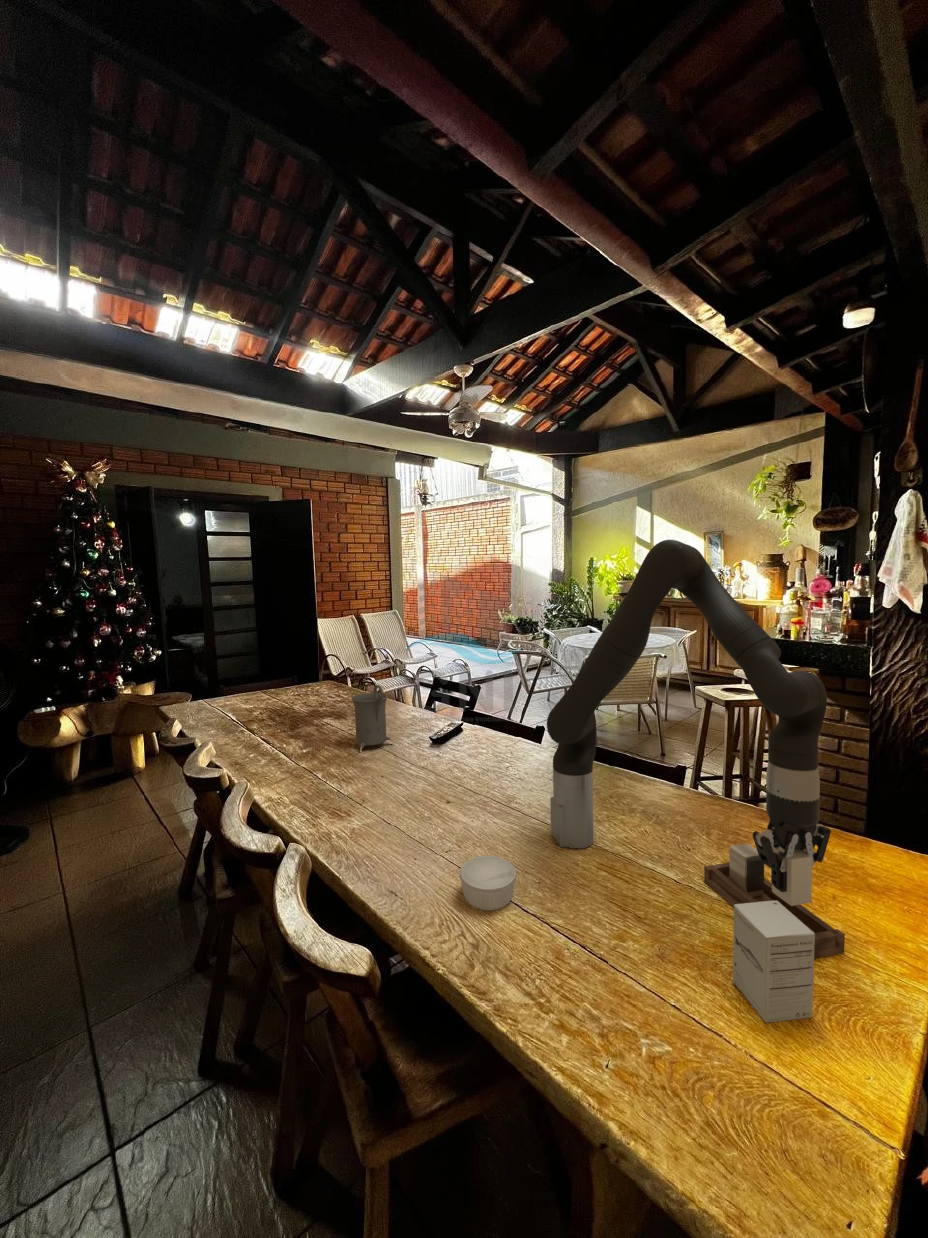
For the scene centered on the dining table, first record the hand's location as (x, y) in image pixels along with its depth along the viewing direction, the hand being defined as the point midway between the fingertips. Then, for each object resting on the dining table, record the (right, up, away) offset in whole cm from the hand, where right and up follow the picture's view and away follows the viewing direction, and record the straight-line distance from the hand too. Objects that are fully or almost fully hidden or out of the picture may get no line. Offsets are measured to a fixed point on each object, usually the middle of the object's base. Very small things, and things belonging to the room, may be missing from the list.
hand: (791, 886), depth 85 cm
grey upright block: (0, -2, 0) cm, 2 cm away
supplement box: (-11, -10, -13) cm, 20 cm away
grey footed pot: (-91, -4, +106) cm, 140 cm away
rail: (-1, -8, +5) cm, 9 cm away
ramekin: (-51, -9, +13) cm, 54 cm away
